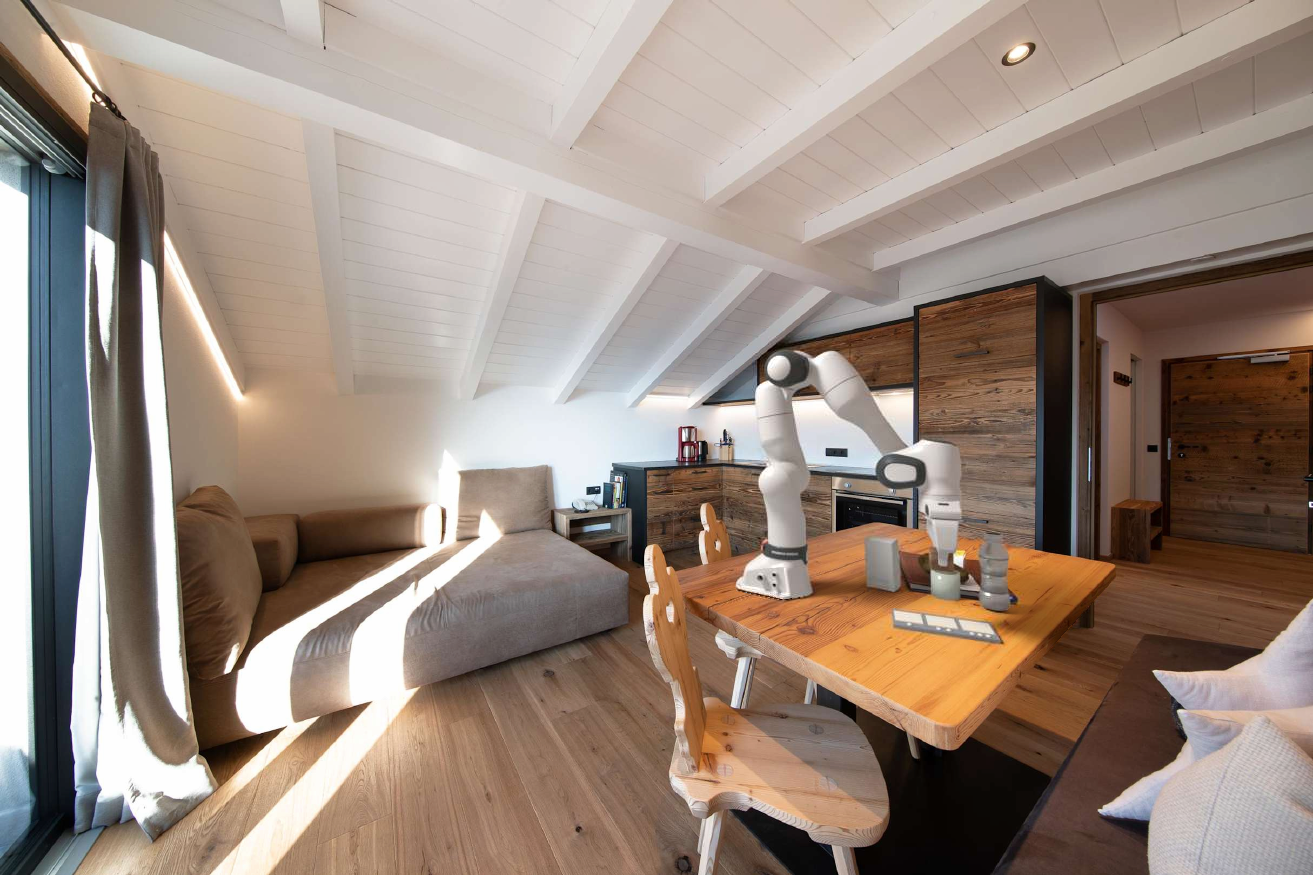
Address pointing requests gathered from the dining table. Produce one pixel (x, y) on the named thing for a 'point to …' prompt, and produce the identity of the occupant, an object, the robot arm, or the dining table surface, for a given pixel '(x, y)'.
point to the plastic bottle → (993, 573)
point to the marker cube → (934, 561)
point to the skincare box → (882, 563)
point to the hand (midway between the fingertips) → (940, 561)
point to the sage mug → (945, 585)
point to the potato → (924, 565)
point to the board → (945, 625)
